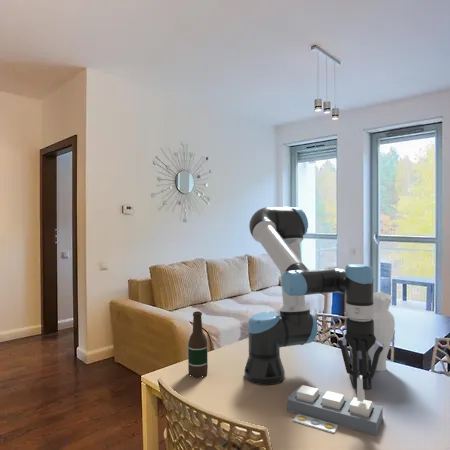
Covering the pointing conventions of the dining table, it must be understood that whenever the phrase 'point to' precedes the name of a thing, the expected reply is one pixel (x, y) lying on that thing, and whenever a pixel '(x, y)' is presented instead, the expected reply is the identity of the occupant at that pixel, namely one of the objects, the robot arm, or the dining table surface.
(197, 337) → the beer bottle
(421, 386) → the dining table surface
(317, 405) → the board
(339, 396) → the button
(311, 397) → the button
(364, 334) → the robot arm
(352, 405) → the button
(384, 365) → the vase
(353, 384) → the small box
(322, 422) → the card
